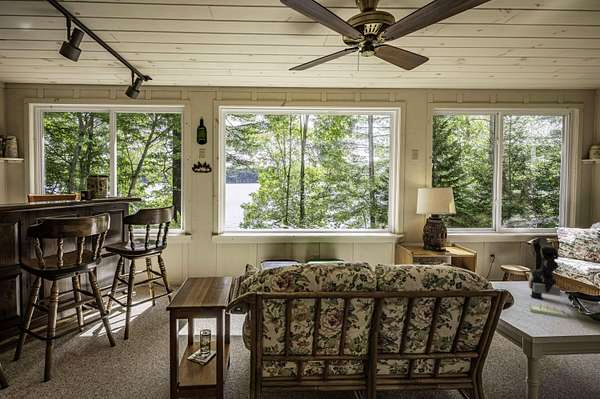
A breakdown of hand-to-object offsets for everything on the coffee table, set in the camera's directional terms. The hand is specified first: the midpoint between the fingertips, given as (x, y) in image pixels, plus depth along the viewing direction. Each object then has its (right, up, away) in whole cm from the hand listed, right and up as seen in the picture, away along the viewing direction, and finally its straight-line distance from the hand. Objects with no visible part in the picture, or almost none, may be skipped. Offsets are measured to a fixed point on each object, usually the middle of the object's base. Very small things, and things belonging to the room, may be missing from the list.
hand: (546, 291), depth 203 cm
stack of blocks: (+27, -11, +44) cm, 52 cm away
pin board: (-3, -12, -5) cm, 13 cm away
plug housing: (0, -1, 0) cm, 1 cm away
